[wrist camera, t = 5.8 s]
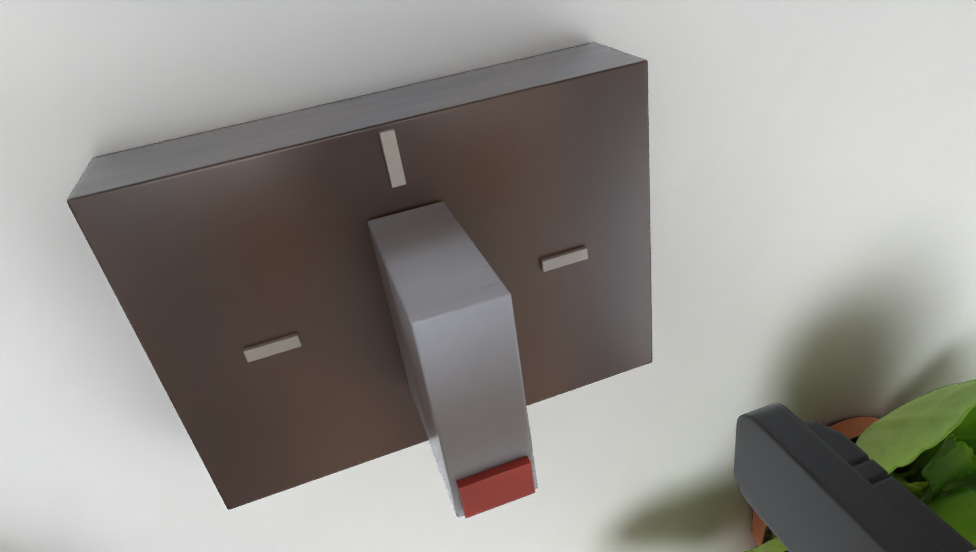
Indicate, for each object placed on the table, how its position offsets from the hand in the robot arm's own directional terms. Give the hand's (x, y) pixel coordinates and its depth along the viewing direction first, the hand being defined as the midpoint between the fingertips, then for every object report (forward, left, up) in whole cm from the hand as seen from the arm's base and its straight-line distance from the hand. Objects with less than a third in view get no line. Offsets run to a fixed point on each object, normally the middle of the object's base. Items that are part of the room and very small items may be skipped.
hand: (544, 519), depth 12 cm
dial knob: (0, 0, -8) cm, 8 cm away
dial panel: (0, 0, -11) cm, 11 cm away
